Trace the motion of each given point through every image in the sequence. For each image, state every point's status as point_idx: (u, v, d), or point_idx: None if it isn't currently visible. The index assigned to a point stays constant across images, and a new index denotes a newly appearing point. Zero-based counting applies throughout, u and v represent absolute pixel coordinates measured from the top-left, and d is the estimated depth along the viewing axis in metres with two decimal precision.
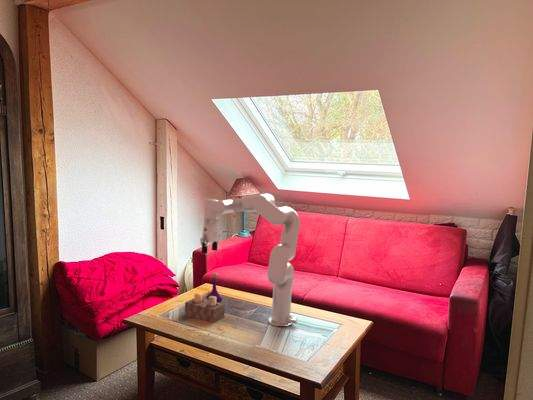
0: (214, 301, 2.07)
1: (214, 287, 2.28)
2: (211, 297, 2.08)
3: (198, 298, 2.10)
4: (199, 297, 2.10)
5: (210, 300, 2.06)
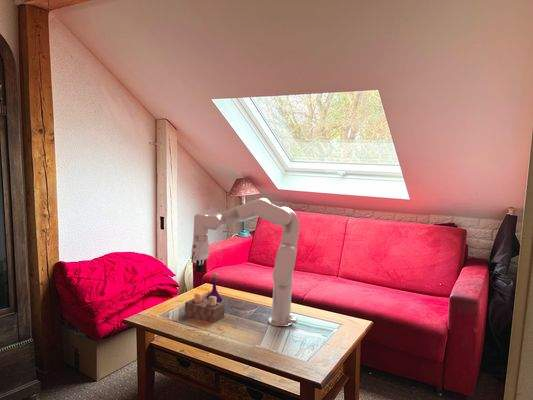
0: (214, 301, 2.07)
1: (214, 287, 2.28)
2: (211, 297, 2.08)
3: (198, 298, 2.10)
4: (199, 297, 2.10)
5: (210, 300, 2.06)
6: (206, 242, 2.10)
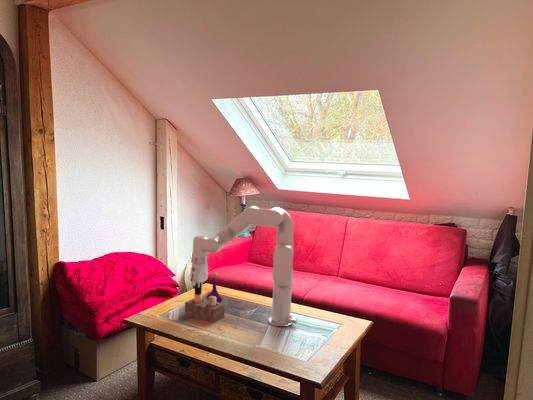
0: (214, 301, 2.07)
1: (214, 287, 2.28)
2: (211, 297, 2.08)
3: (198, 298, 2.10)
4: (199, 297, 2.10)
5: (210, 300, 2.06)
6: (205, 264, 2.11)
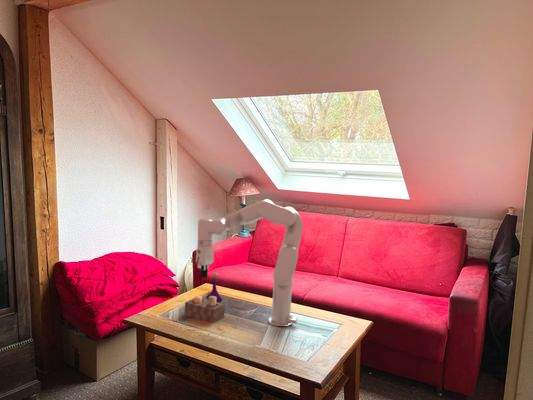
0: (214, 301, 2.07)
1: (214, 287, 2.28)
2: (211, 297, 2.08)
3: (198, 302, 2.10)
4: (199, 300, 2.10)
5: (210, 300, 2.06)
6: (210, 247, 2.08)
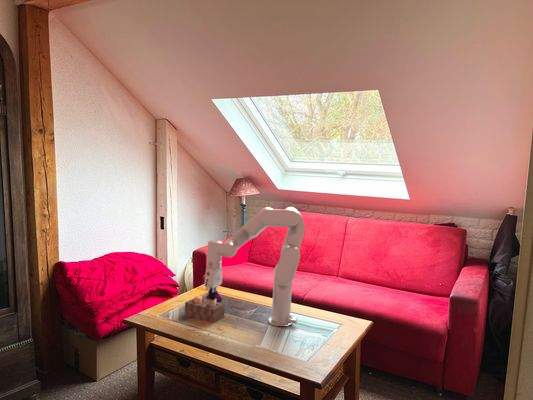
0: (214, 303, 2.07)
1: None
2: None
3: (198, 302, 2.10)
4: (199, 300, 2.10)
5: (209, 301, 2.06)
6: (219, 269, 2.07)
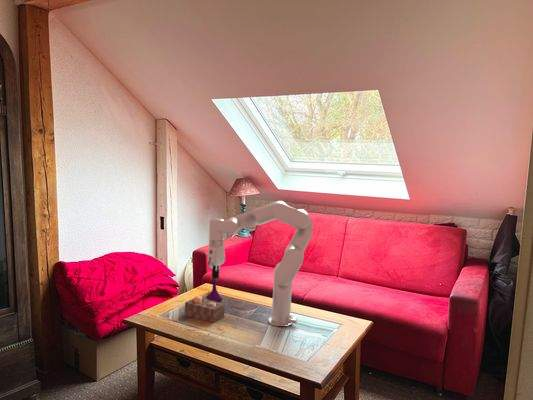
0: None
1: (214, 287, 2.28)
2: (211, 303, 2.08)
3: (198, 302, 2.10)
4: (199, 300, 2.10)
5: None
6: (222, 247, 2.06)
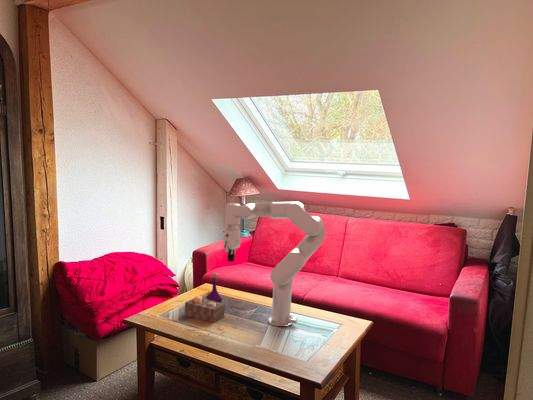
0: None
1: (214, 287, 2.28)
2: (211, 303, 2.08)
3: (198, 302, 2.10)
4: (199, 300, 2.10)
5: None
6: (238, 231, 2.11)
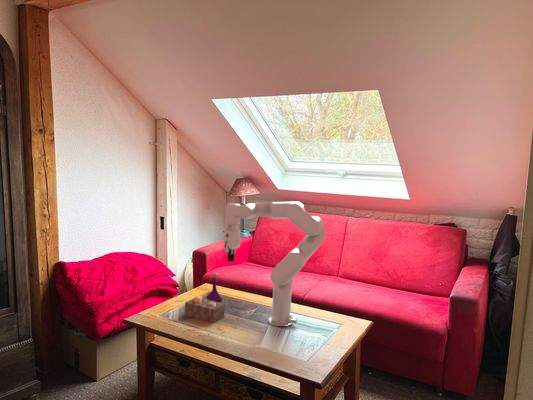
0: None
1: (214, 287, 2.28)
2: (211, 303, 2.08)
3: (198, 302, 2.10)
4: (199, 300, 2.10)
5: None
6: (238, 231, 2.11)
